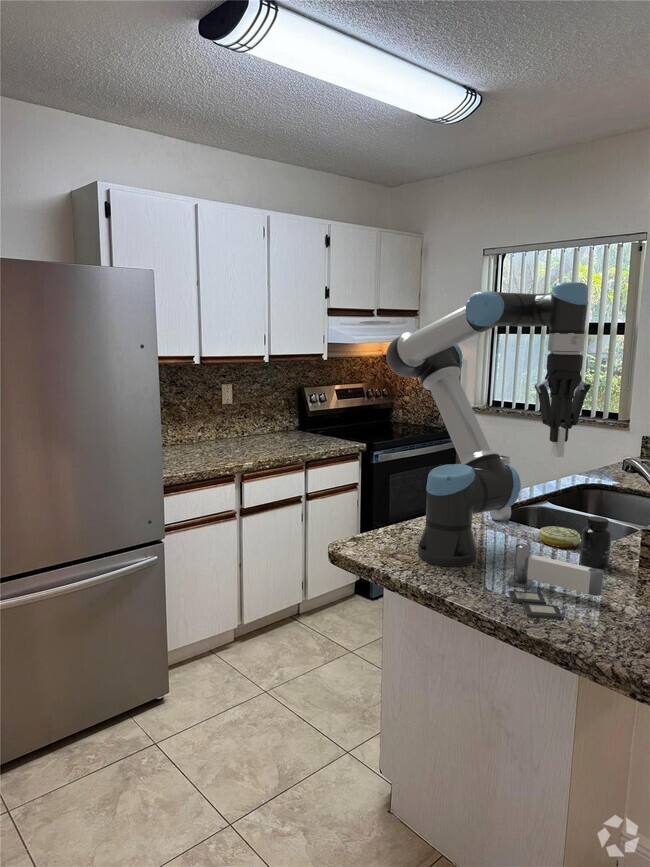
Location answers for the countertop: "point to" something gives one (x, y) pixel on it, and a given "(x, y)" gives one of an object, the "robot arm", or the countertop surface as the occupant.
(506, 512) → the plastic bottle
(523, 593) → the label plate
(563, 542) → the decorated donut
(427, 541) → the robot arm
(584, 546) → the supplement bottle
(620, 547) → the countertop surface
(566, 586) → the swing bar
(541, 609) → the label plate
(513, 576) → the pivot post
